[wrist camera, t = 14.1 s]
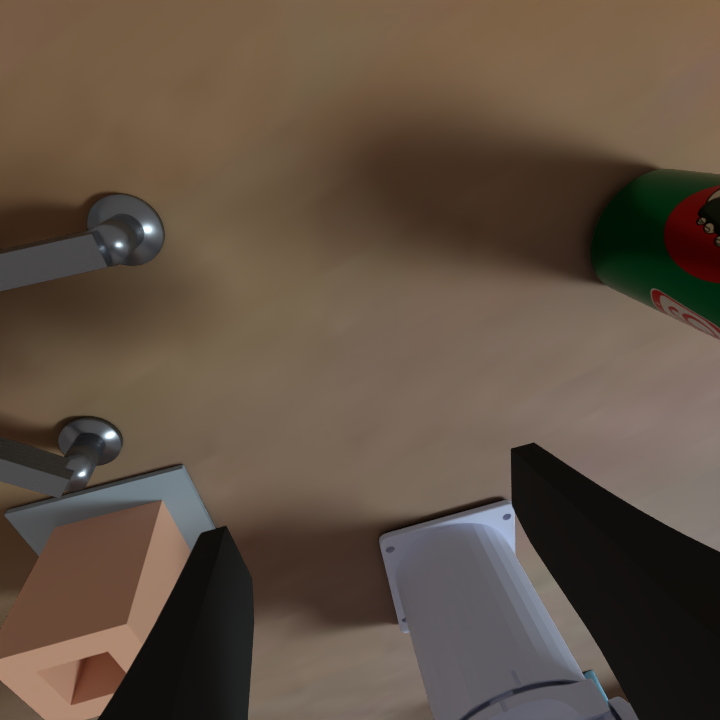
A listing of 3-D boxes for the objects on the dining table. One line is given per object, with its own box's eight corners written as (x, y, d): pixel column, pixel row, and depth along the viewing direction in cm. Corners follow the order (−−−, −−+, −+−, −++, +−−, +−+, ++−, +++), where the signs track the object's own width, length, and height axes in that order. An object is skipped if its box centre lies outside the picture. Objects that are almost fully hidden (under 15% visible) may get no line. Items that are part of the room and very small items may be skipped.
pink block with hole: (199, 566, 23) (179, 692, 18) (103, 591, 23) (55, 728, 18) (162, 499, 21) (126, 624, 16) (54, 527, 21) (-19, 664, 15)
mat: (237, 570, 25) (236, 575, 24) (91, 611, 24) (89, 616, 24) (183, 464, 21) (182, 468, 20) (7, 509, 20) (3, 515, 20)
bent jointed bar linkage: (242, 425, 20) (238, 469, 18) (-1, 487, 19) (-42, 543, 17) (147, 186, 15) (122, 199, 13) (-186, 258, 14) (-286, 288, 12)
